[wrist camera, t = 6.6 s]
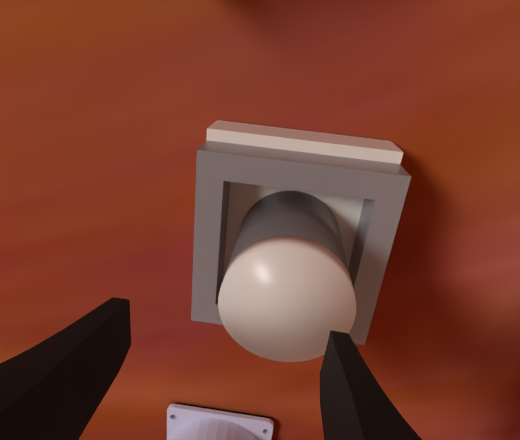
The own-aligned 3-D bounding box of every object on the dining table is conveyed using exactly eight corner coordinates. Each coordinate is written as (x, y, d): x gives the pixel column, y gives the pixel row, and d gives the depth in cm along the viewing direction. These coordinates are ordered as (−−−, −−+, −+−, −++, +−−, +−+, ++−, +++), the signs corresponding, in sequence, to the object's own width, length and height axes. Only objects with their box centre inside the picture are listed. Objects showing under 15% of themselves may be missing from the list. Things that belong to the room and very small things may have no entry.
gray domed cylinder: (327, 286, 20) (338, 372, 15) (235, 270, 20) (212, 349, 15) (350, 200, 18) (372, 262, 12) (247, 182, 18) (225, 236, 13)
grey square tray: (351, 301, 23) (363, 353, 19) (208, 281, 24) (189, 328, 19) (390, 141, 19) (416, 163, 15) (217, 120, 20) (196, 136, 15)
